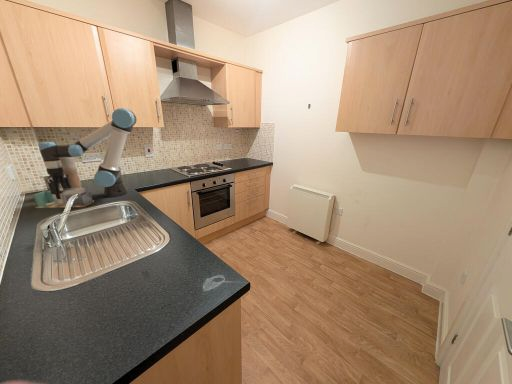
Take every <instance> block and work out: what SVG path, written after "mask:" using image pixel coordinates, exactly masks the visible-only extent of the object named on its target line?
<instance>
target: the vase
mask: <svg viewBox="0 0 512 384" xmlns="http://www.w3.org/2000/svg"><path fill="white" fill-rule="evenodd" d="M74 158H75V157H62V158H60V161H61V164H62V166H61V167H63V171H64V172H63V174H64V175H68V179H69V182H70V185H71V188H83V186H82V183H81V180H80V175H79V172H78V169H77V166H76V162H75V159H74Z"/></svg>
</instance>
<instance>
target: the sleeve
mask: <svg viewBox="0 0 512 384" xmlns="http://www.w3.org/2000/svg"><path fill="white" fill-rule="evenodd" d="M71 196H72V195H66V196H65V197H66V200H67V201H68V199H69V198H70V197H71ZM92 201H94V200H93V195H92V193H91V191H86V193H84V194H82V195H78V198H77V199H76V200H75V201H74V203H73V206H84V205H86V204H88V203H90V202H92Z"/></svg>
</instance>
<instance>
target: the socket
mask: <svg viewBox="0 0 512 384" xmlns="http://www.w3.org/2000/svg"><path fill="white" fill-rule="evenodd" d="M32 197H33V200H34V202H35V205H36V206H35V207H44V206H46V203H49V202H54V199H53V196H52V194H51V191H48V190H43V191H40V192H37V193H35V194H32Z"/></svg>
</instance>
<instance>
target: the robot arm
mask: <svg viewBox="0 0 512 384" xmlns="http://www.w3.org/2000/svg"><path fill="white" fill-rule="evenodd" d="M136 123H137V116H136V114H135V113H134V112H133V111H132V110H129V109H127V108H121V107H119V108H116V109H115V110H114V111H113V112H112V114H111V121H109V122H107V123H106V124H104V125H102V126H101V127H98V128H97V129H96V130H93V132H91V133H89V134H87V135H85V136H84V137H83V138H80V139H79V140H77V141H75V142H74V143H70V144H64V145H57V144H56V143H55V142H54V141H45V142H44V141H43V142H39V143H38V145H37V146H38V150H39V151H38V152H39V153H40V155H41V158H42V161H43V163H44V166H45V167H44V168H46V169H45V170H46V173H47V174H48V176H50V178H49V179H46V181H47V183H48V185H49V188H50V191H51V194H55V195H56V198H57V199H58V202H59V203H64V200H63V197H62V194H60V189H59V183H60V184H61V186H62V187H63V188H71V185H70V182H69V179H68V175H64V174H63V172H64V171H63V167H61V166H62V164H61V161H60V158H62V157H73V158H77V157H78V158H79V157H82V156H83V154H84V153H86V152H87V151H89V150H90V149H92V148H94V147H95V146H97V145H99V144H100V143H102V142H103V141H105V140H107V139H108V138H109V140H108V144H107V147H106V151H105V155H104V158H103V161H102V163H99V165H98V168H97V171H96V172H95V174H94V176H93V180H94V182H95V183H96V185H98V186H100V187H103V188H104V189H103V195H104V197H107V198H108V197H109V198H111V197H114V198H115V197H119V196H123V195H126V194H128V193H129V191H128V188H127V187H126V185H125V183H124V180H123V176H122V170H121V166H120V161H121V158H122V154H123V152H124V149H125V144H126V142H127V138H128V135H129V134H131V133H132V131H133V128H134V126H135V125H136Z"/></svg>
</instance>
